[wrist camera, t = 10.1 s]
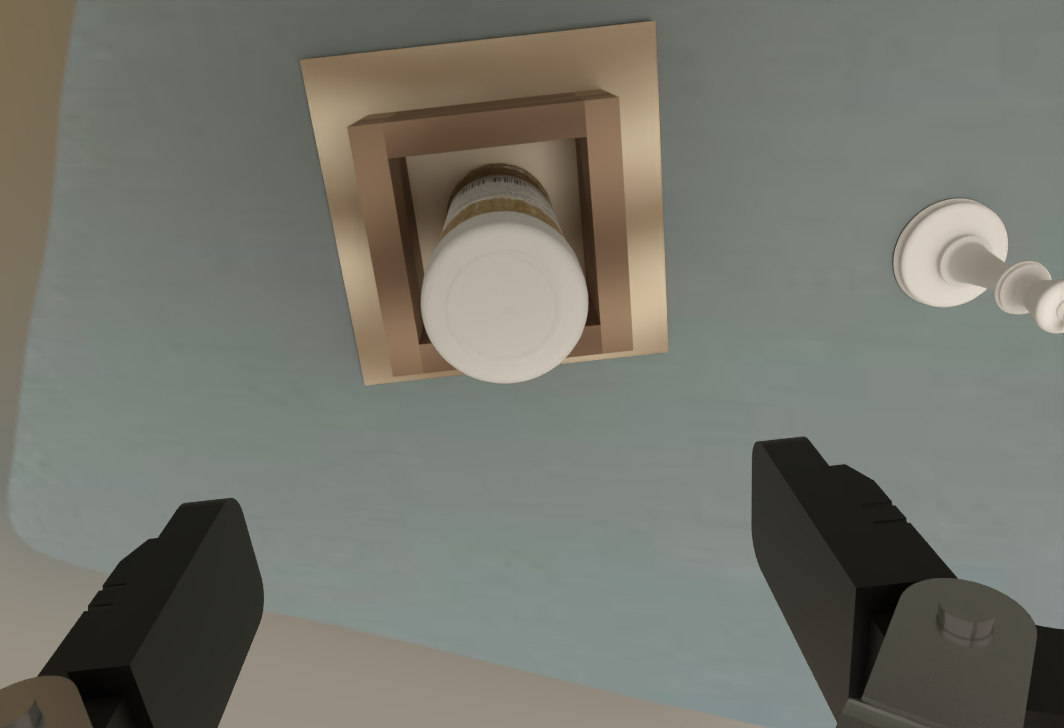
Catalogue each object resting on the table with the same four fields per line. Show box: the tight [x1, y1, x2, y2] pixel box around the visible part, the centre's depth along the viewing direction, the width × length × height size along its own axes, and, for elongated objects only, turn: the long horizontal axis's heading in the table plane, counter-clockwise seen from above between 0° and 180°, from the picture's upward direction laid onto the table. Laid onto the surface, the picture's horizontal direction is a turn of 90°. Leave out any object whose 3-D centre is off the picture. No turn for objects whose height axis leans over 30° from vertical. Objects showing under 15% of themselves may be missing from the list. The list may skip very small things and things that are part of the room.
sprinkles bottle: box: [421, 164, 588, 383], centre depth 27 cm, size 5×5×14 cm
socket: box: [300, 21, 668, 385], centre depth 31 cm, size 14×14×6 cm
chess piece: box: [893, 198, 1064, 333], centre depth 31 cm, size 5×5×10 cm
